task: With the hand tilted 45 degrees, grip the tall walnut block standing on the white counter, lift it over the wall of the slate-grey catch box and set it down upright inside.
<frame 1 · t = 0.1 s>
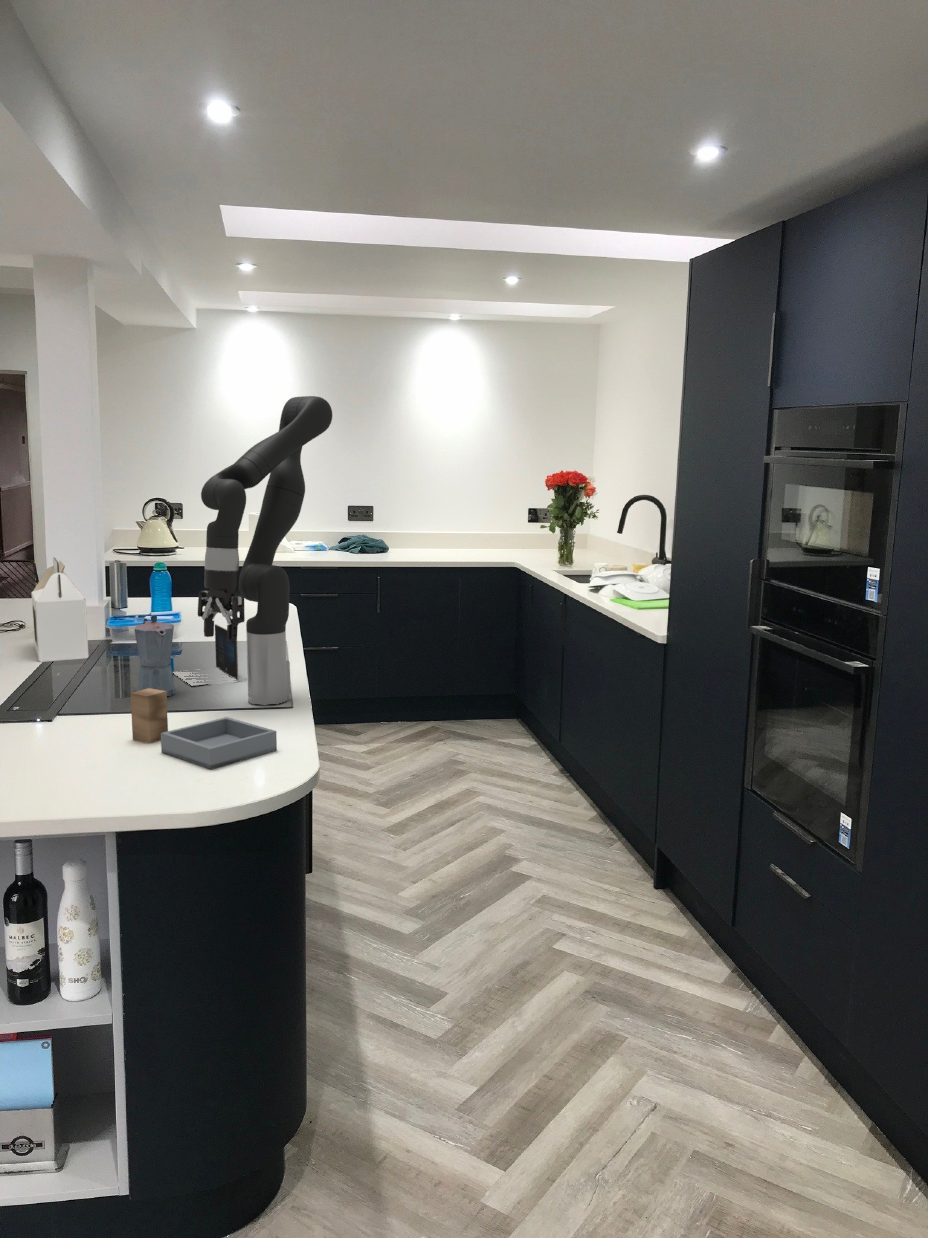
hand: (220, 638, 216), 17 cm above the table, tool pointing down, fingers open, 8 cm apart
gable box: (61, 654, 282), on the table
moka pot: (155, 695, 235), on the table
catch box: (219, 751, 190), on the table
laptop: (205, 679, 253), on the table
walnut block: (150, 738, 198), on the table
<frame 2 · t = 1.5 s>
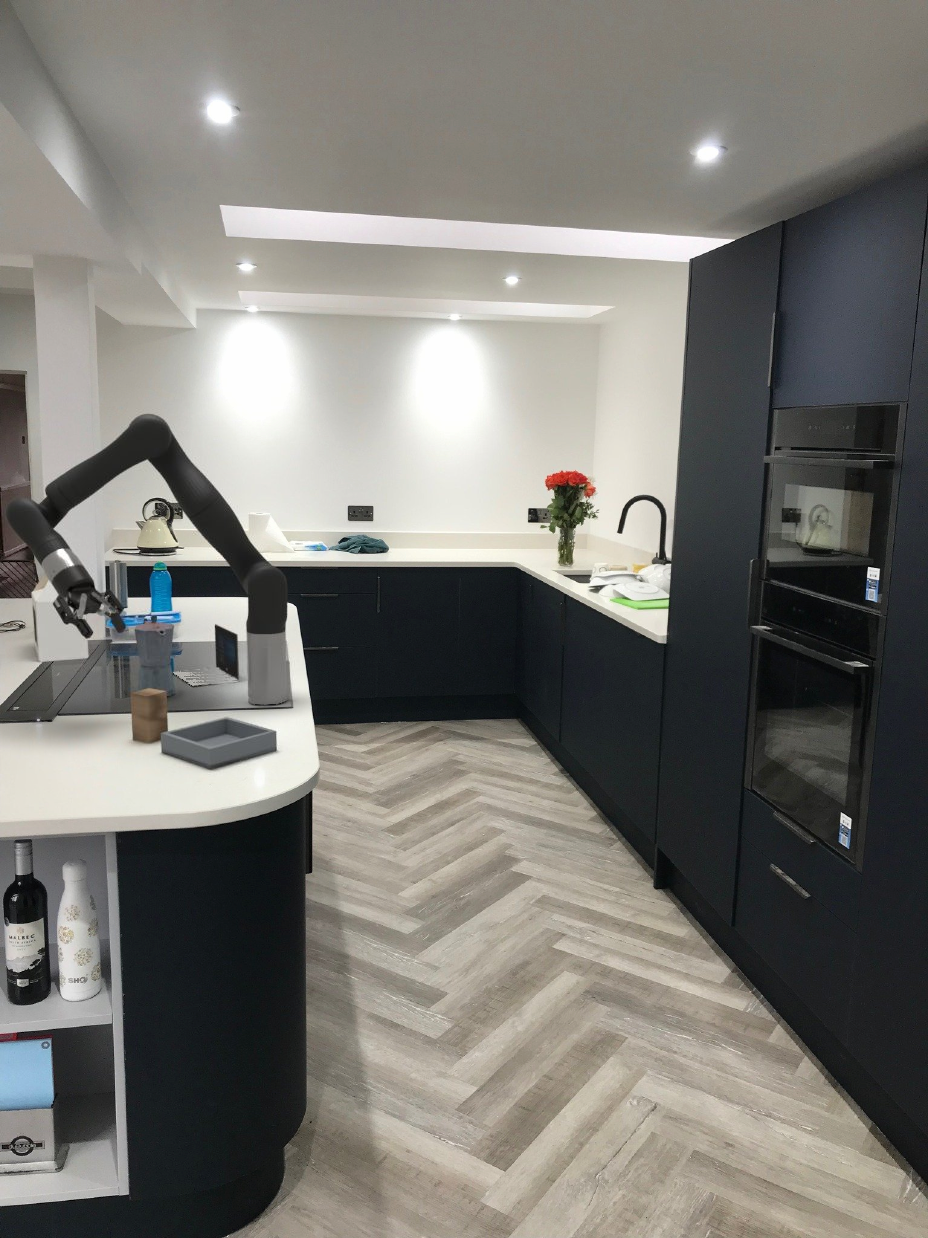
hand: (106, 633, 200), 21 cm above the table, tool tilted 45°, fingers open, 8 cm apart
nothing on the table moved.
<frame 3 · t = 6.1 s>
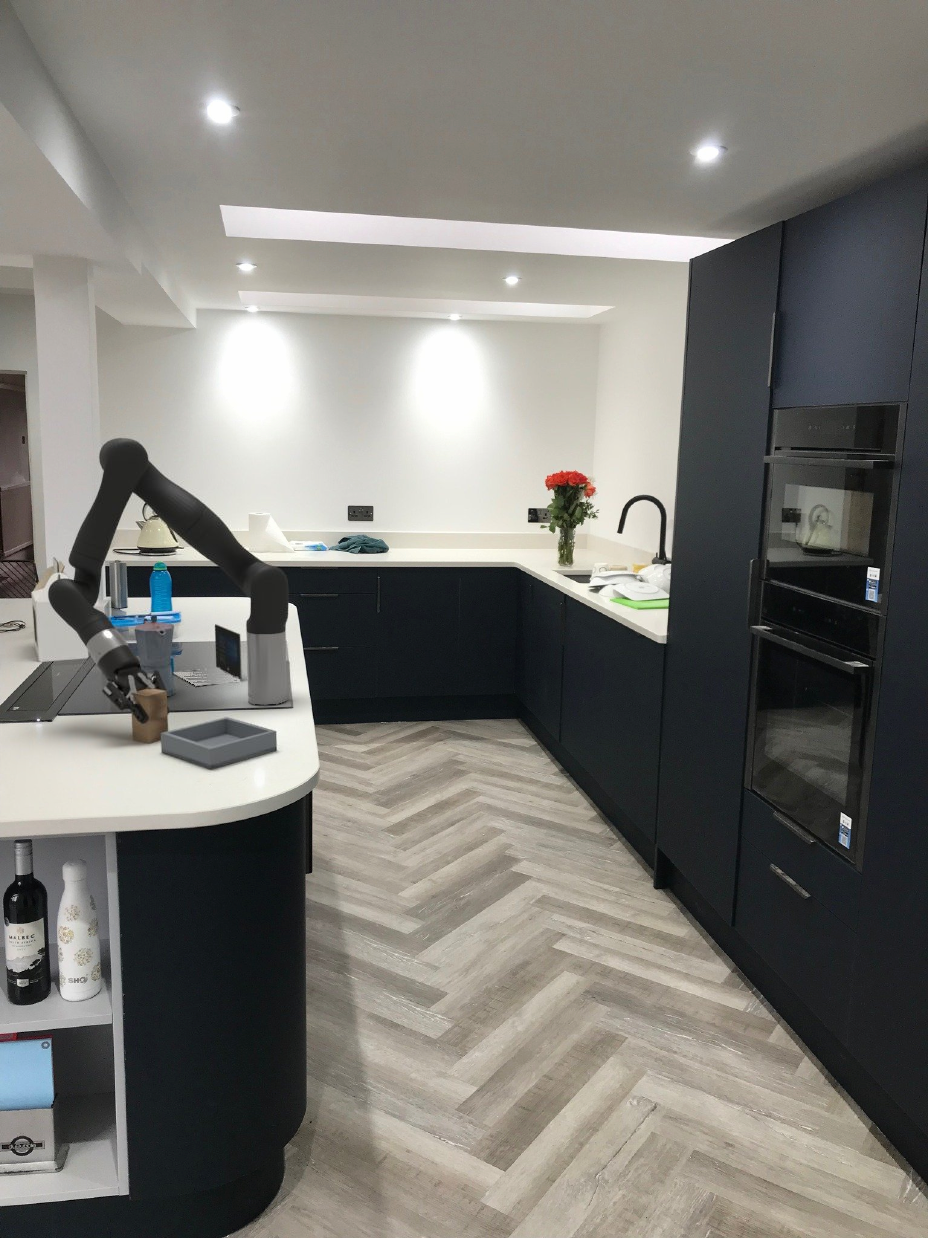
hand: (156, 718, 196), 5 cm above the table, tool tilted 45°, fingers closed on walnut block, 5 cm apart
walnut block: (150, 738, 198), on the table, touching gripper
everything else where it was.
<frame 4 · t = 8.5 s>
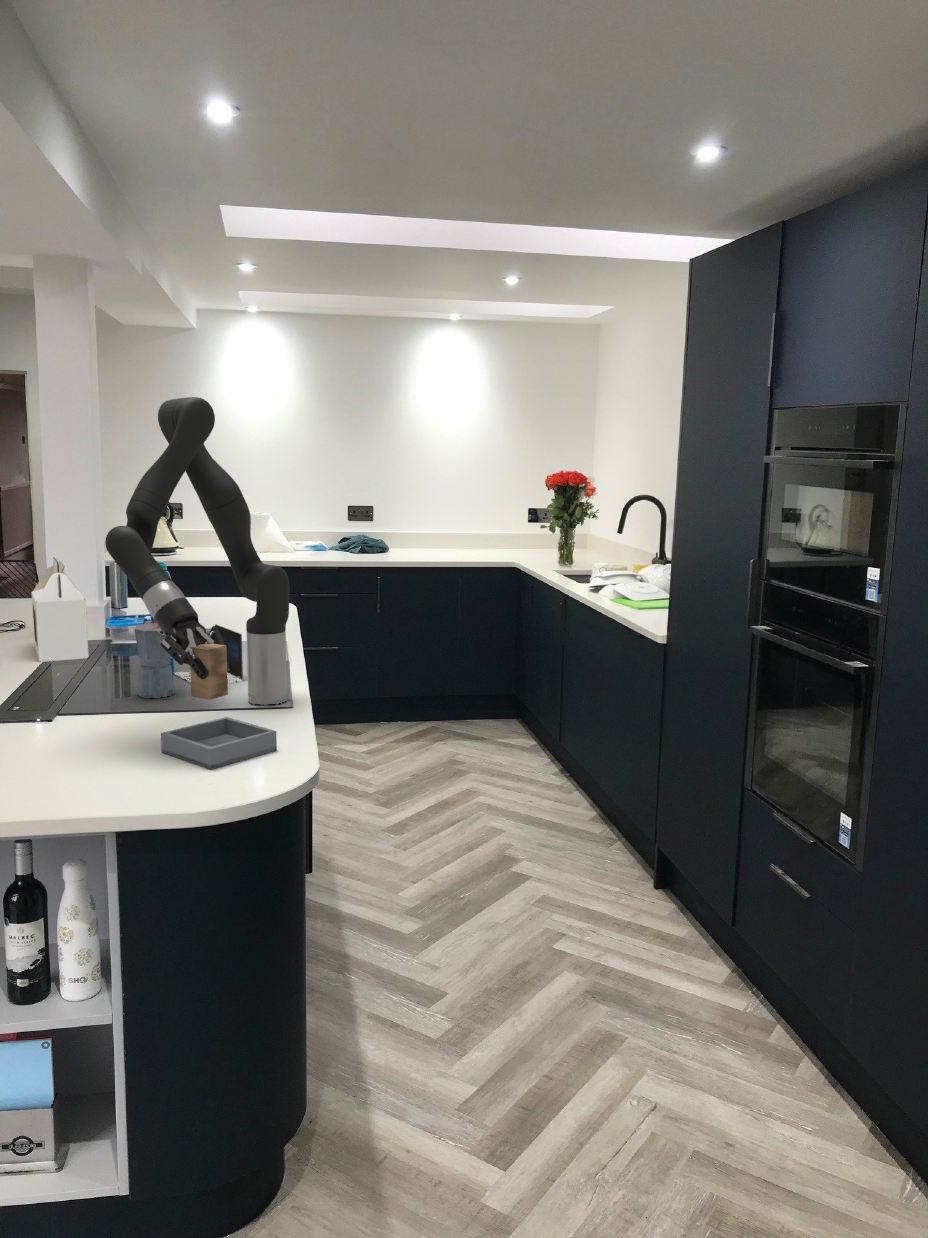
hand: (215, 673, 187), 16 cm above the table, tool tilted 45°, fingers closed on walnut block, 5 cm apart
walnut block: (209, 695, 189), point 11 cm above the table, touching gripper
everything else where it was.
when the fingers open (7 cm above the table, at t = 11.2 s): walnut block drops 2 cm, resting on catch box.
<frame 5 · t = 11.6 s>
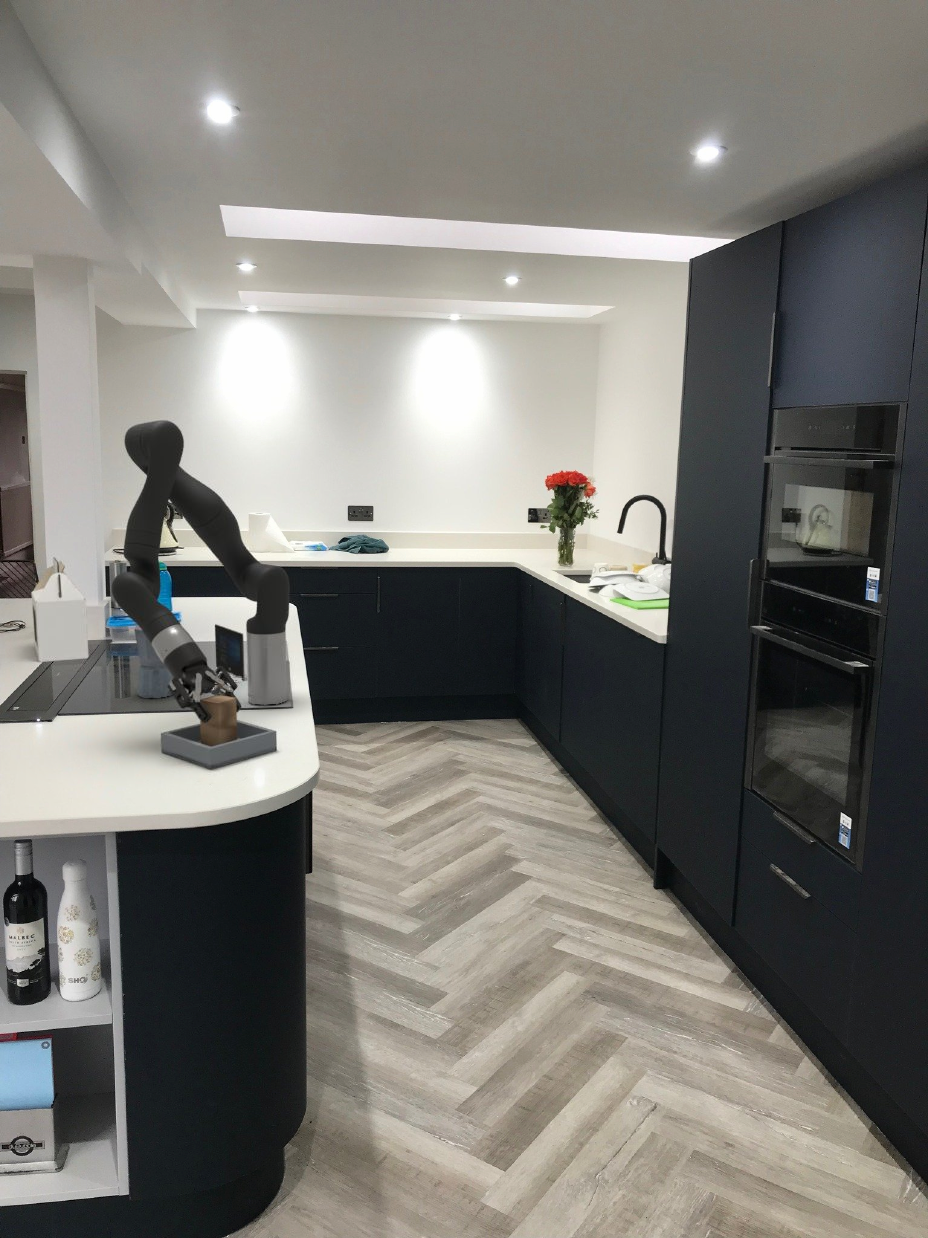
hand: (223, 715, 188), 8 cm above the table, tool tilted 45°, fingers open, 8 cm apart
walnut block: (219, 747, 190), point 1 cm above the table, touching catch box
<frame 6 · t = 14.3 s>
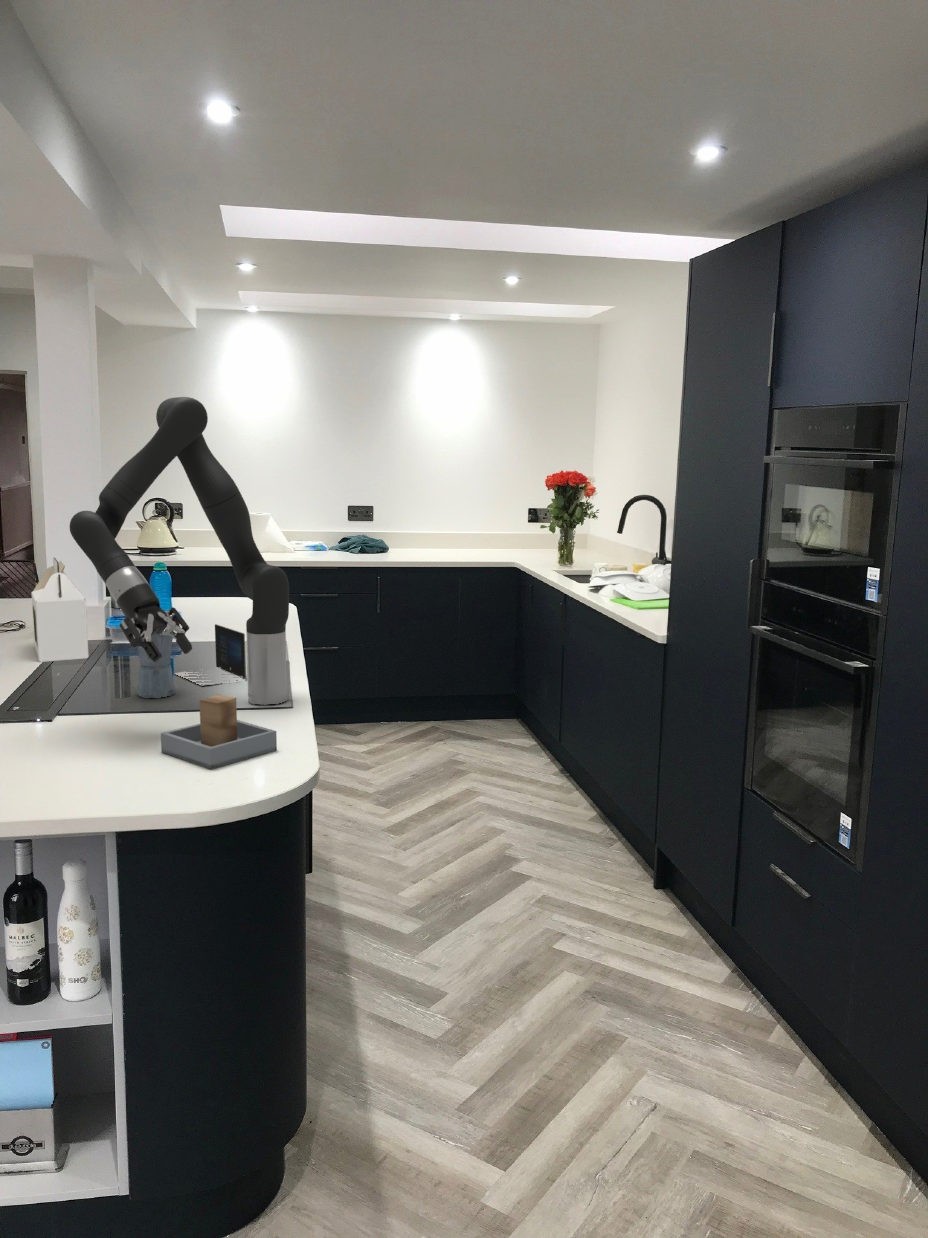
hand: (173, 655, 194), 18 cm above the table, tool tilted 40°, fingers open, 8 cm apart
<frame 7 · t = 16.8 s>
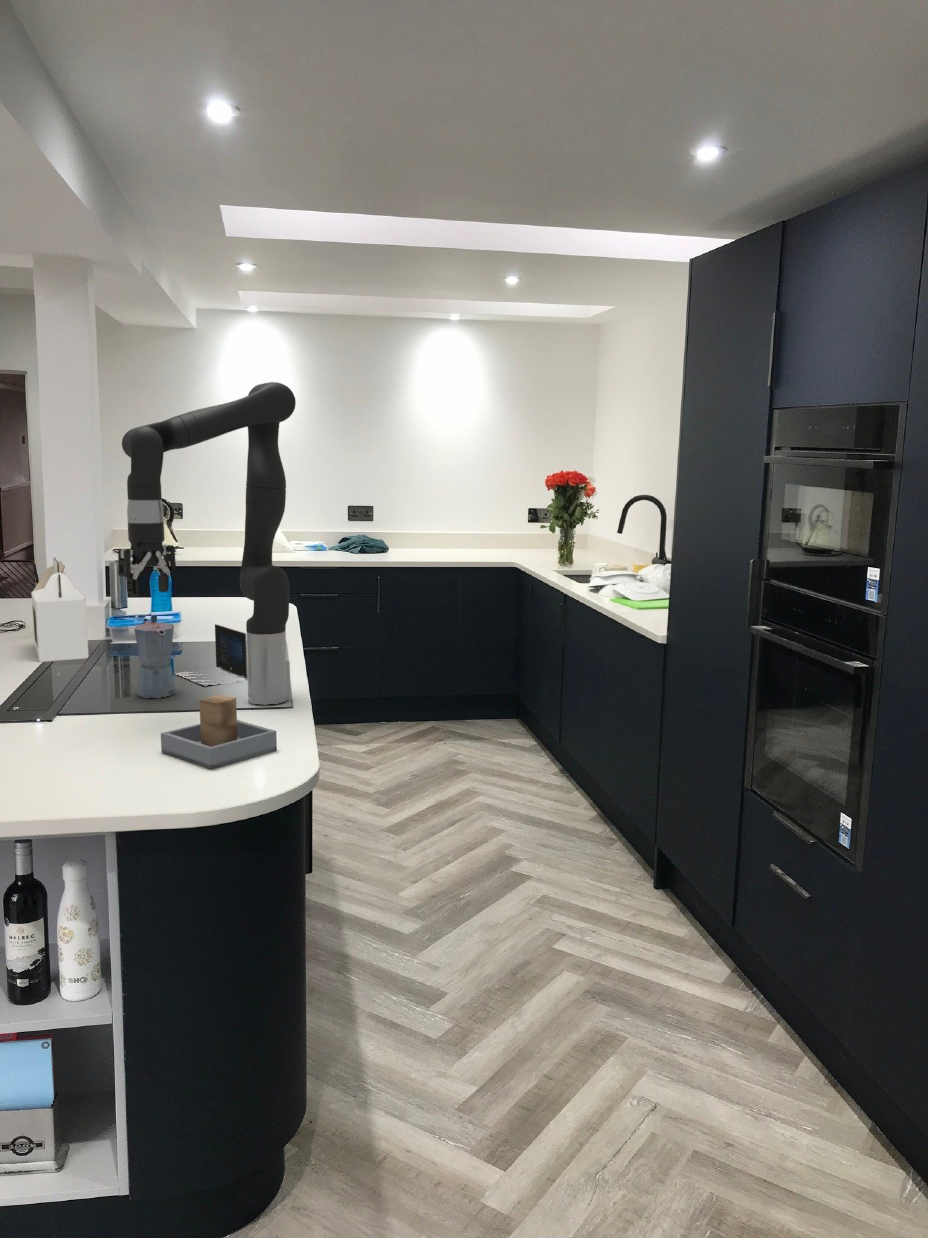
hand: (148, 593, 210), 28 cm above the table, tool pointing down, fingers open, 8 cm apart
at the end: walnut block inside the target area on the catch box (0.0 cm from its centre), point 0.8 cm above the catch box's base; walnut block tilted 0°; the gripper is holding nothing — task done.
